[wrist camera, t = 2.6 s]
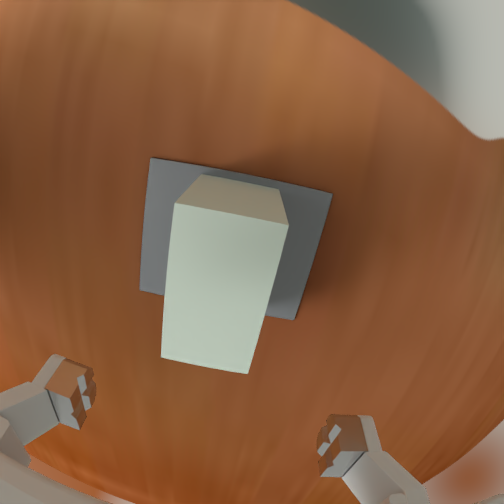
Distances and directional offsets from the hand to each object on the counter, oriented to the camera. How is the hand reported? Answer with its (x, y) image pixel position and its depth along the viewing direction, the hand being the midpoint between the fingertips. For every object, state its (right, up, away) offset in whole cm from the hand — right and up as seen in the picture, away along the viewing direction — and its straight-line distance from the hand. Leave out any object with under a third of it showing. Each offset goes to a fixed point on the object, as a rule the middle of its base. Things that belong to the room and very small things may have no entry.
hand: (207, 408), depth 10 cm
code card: (0, +6, +12) cm, 14 cm away
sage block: (0, +6, +12) cm, 13 cm away
